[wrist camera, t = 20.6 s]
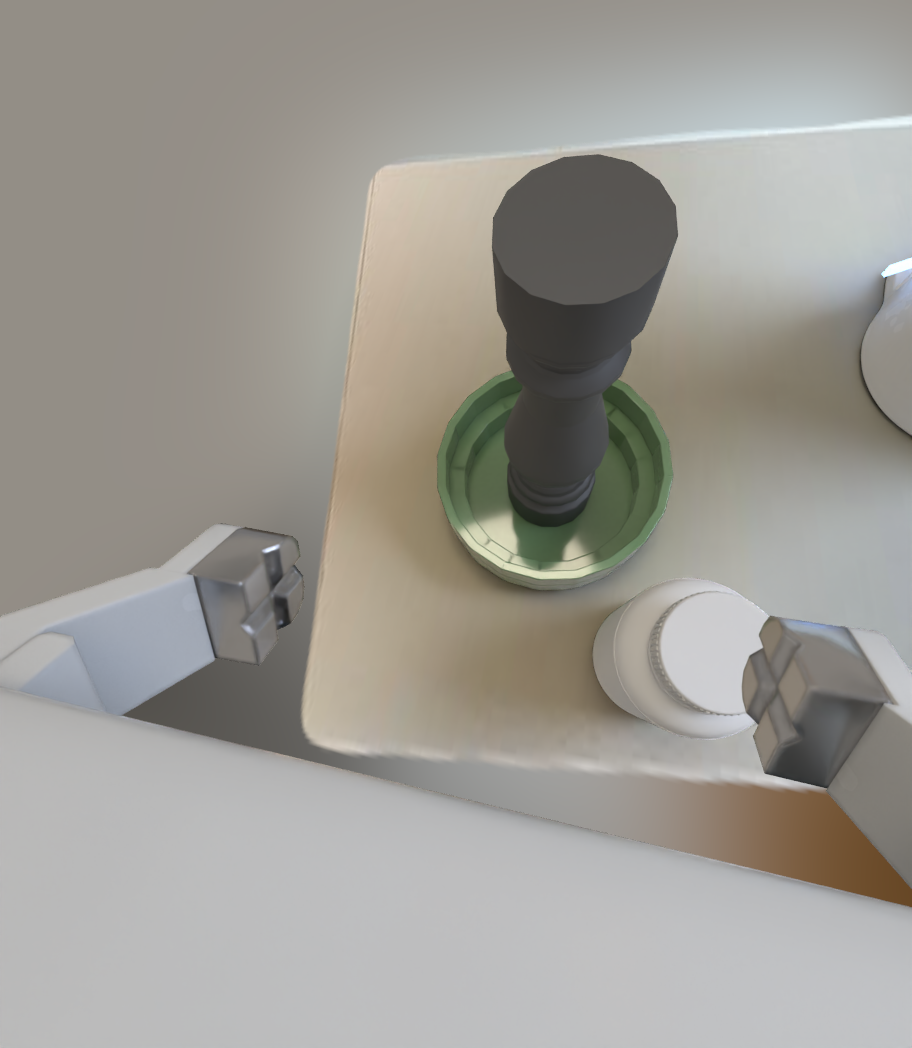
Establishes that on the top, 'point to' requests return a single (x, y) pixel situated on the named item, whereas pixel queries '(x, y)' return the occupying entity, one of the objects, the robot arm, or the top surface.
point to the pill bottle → (681, 657)
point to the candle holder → (573, 315)
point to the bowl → (578, 546)
